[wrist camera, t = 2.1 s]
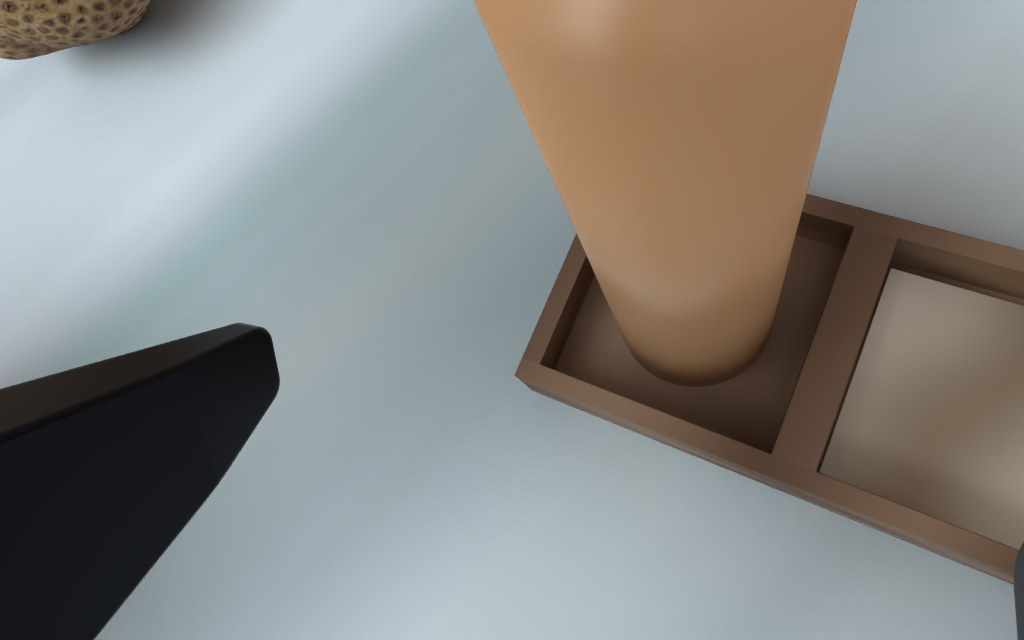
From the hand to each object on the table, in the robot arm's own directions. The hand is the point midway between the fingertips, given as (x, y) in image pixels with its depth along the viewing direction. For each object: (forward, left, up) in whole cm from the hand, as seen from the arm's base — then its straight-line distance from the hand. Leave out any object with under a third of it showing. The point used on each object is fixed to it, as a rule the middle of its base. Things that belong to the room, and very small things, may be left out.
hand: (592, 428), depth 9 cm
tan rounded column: (+4, -2, -11) cm, 12 cm away
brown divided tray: (+3, -5, -12) cm, 13 cm away
